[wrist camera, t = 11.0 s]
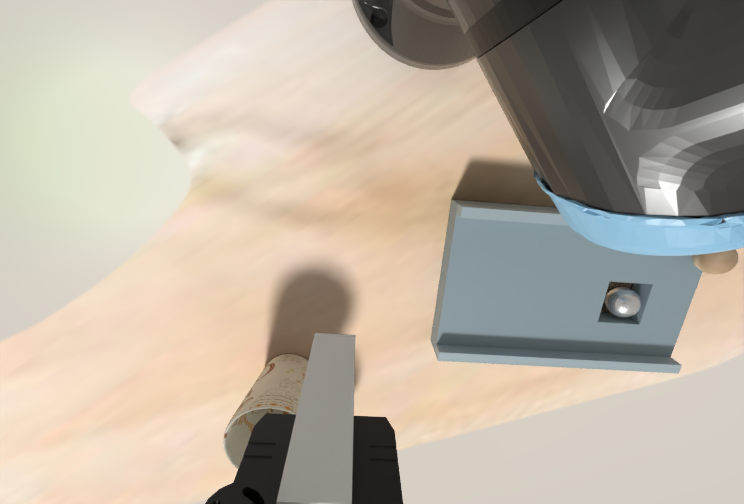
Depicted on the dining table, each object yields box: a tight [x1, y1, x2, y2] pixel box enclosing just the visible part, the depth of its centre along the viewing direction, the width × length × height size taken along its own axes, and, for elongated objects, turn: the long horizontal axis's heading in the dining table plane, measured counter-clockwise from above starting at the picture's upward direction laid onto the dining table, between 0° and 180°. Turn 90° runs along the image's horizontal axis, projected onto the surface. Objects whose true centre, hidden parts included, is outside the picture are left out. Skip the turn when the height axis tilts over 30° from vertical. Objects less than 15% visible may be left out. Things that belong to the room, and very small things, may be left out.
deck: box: [431, 199, 702, 373], centre depth 38 cm, size 16×26×4 cm, turn 85°
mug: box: [223, 354, 308, 469], centre depth 38 cm, size 8×13×10 cm, turn 47°
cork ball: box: [692, 250, 738, 274], centre depth 35 cm, size 3×3×3 cm
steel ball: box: [605, 287, 641, 317], centre depth 39 cm, size 3×3×3 cm
